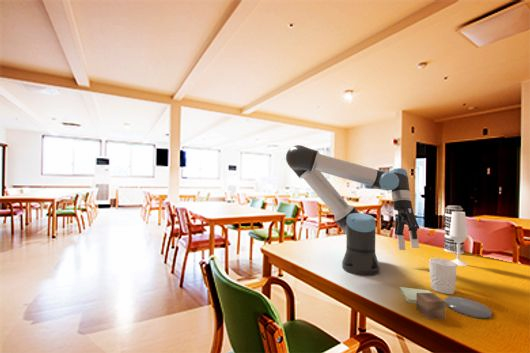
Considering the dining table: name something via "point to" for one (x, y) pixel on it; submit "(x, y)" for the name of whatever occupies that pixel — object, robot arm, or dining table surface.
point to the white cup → (442, 275)
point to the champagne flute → (458, 233)
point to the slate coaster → (468, 307)
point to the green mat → (412, 293)
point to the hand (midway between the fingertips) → (408, 249)
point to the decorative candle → (449, 242)
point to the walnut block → (431, 306)
